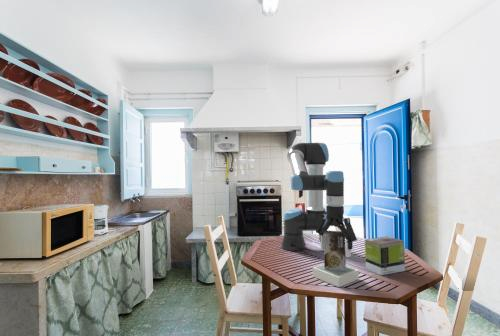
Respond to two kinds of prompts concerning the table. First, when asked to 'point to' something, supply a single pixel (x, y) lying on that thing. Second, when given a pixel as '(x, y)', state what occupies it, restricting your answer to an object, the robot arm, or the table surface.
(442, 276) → the table surface
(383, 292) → the table surface
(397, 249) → the tea box
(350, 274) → the block
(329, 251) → the coffee box
